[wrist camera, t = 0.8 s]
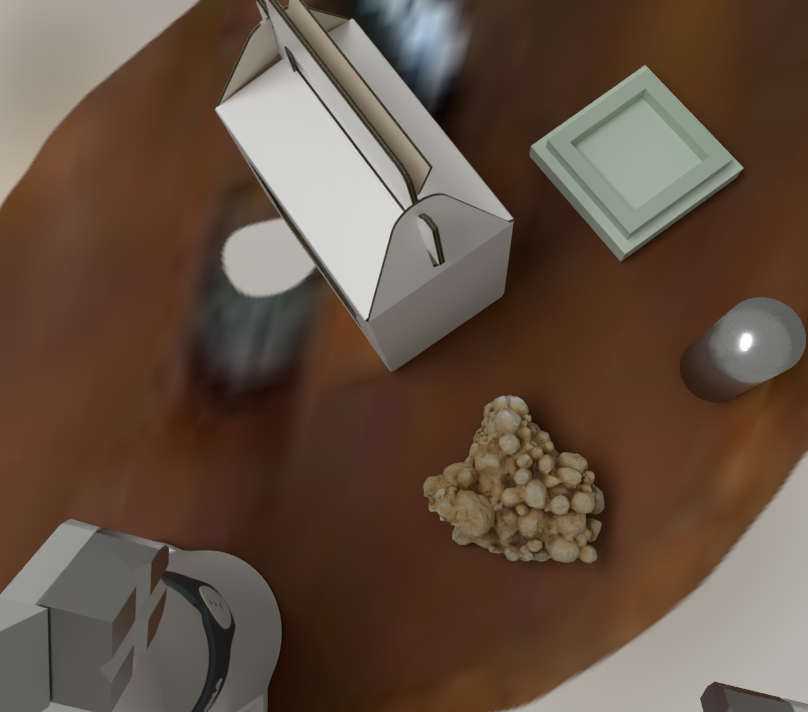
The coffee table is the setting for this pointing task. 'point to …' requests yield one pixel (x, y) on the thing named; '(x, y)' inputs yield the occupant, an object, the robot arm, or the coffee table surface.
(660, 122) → the plate
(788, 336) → the brushed metal cylinder
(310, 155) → the gable box
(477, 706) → the coffee table surface
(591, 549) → the mineral formation
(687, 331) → the coffee table surface
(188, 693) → the robot arm
